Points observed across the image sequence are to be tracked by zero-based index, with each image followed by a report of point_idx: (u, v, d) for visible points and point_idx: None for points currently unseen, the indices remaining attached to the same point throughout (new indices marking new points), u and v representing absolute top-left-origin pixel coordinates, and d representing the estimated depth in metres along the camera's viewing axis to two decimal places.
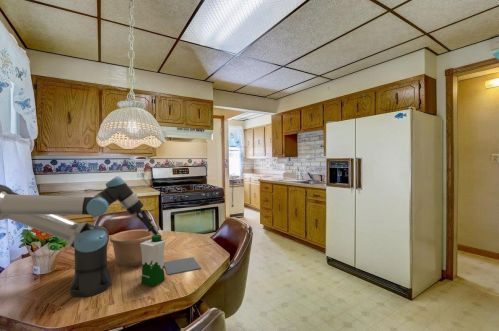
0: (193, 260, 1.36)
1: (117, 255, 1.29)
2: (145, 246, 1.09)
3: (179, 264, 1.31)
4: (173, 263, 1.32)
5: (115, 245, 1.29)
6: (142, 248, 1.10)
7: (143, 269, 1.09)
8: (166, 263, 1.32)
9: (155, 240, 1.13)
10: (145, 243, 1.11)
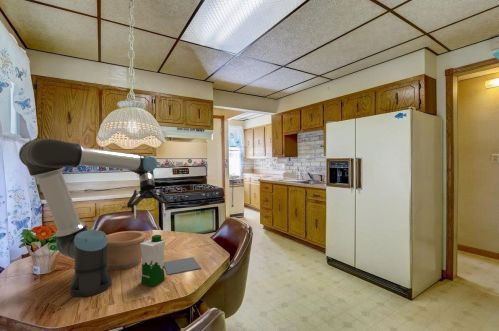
0: (193, 260, 1.36)
1: None
2: (145, 246, 1.09)
3: (179, 264, 1.31)
4: (173, 263, 1.32)
5: None
6: (142, 248, 1.10)
7: (143, 269, 1.09)
8: (166, 263, 1.32)
9: (155, 240, 1.13)
10: (145, 243, 1.11)
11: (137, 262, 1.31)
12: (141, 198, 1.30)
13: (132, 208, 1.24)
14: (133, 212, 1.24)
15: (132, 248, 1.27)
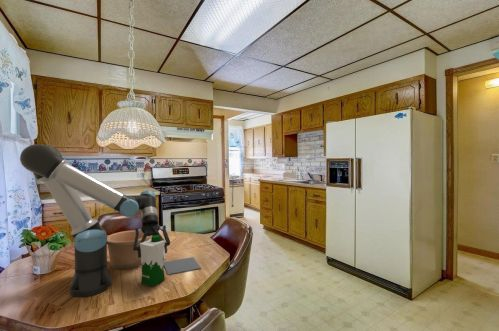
0: (193, 260, 1.36)
1: (109, 254, 1.29)
2: (145, 246, 1.09)
3: (179, 264, 1.31)
4: (173, 263, 1.32)
5: None
6: (142, 248, 1.10)
7: (143, 269, 1.09)
8: (166, 263, 1.32)
9: (155, 240, 1.13)
10: (145, 243, 1.11)
11: None
12: (145, 237, 1.17)
13: (139, 252, 1.11)
14: (140, 256, 1.11)
15: None
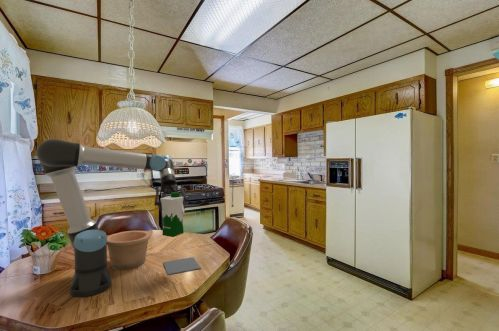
0: (193, 260, 1.36)
1: (109, 255, 1.29)
2: (165, 200, 1.18)
3: (179, 264, 1.31)
4: (173, 263, 1.32)
5: None
6: (162, 202, 1.19)
7: (164, 221, 1.19)
8: (166, 263, 1.32)
9: (174, 196, 1.22)
10: (165, 198, 1.20)
11: (142, 262, 1.32)
12: (165, 194, 1.27)
13: (160, 206, 1.21)
14: (161, 210, 1.20)
15: (137, 248, 1.28)
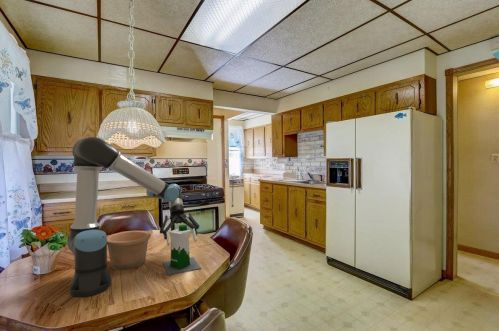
0: (193, 260, 1.36)
1: (109, 255, 1.29)
2: (174, 234, 1.26)
3: None
4: None
5: None
6: (171, 236, 1.27)
7: (172, 254, 1.26)
8: (166, 263, 1.32)
9: (182, 229, 1.29)
10: (173, 231, 1.28)
11: (142, 261, 1.32)
12: (172, 223, 1.33)
13: (165, 234, 1.27)
14: (166, 238, 1.27)
15: (137, 248, 1.28)
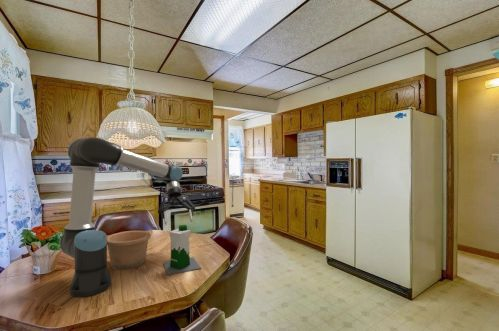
0: (193, 260, 1.36)
1: (109, 255, 1.29)
2: (174, 234, 1.26)
3: None
4: None
5: None
6: (171, 236, 1.26)
7: (172, 254, 1.26)
8: (166, 263, 1.32)
9: (182, 229, 1.29)
10: (173, 231, 1.28)
11: (142, 262, 1.32)
12: (169, 204, 1.41)
13: (162, 214, 1.35)
14: (163, 218, 1.35)
15: (137, 248, 1.28)
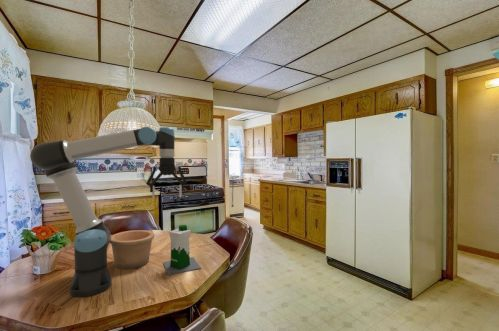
0: (193, 260, 1.36)
1: (113, 254, 1.30)
2: (174, 234, 1.26)
3: None
4: None
5: None
6: (171, 236, 1.26)
7: (172, 254, 1.26)
8: (166, 263, 1.32)
9: (182, 229, 1.29)
10: (173, 231, 1.28)
11: (145, 261, 1.32)
12: (160, 176, 1.31)
13: (151, 188, 1.28)
14: (152, 192, 1.29)
15: (141, 247, 1.28)
